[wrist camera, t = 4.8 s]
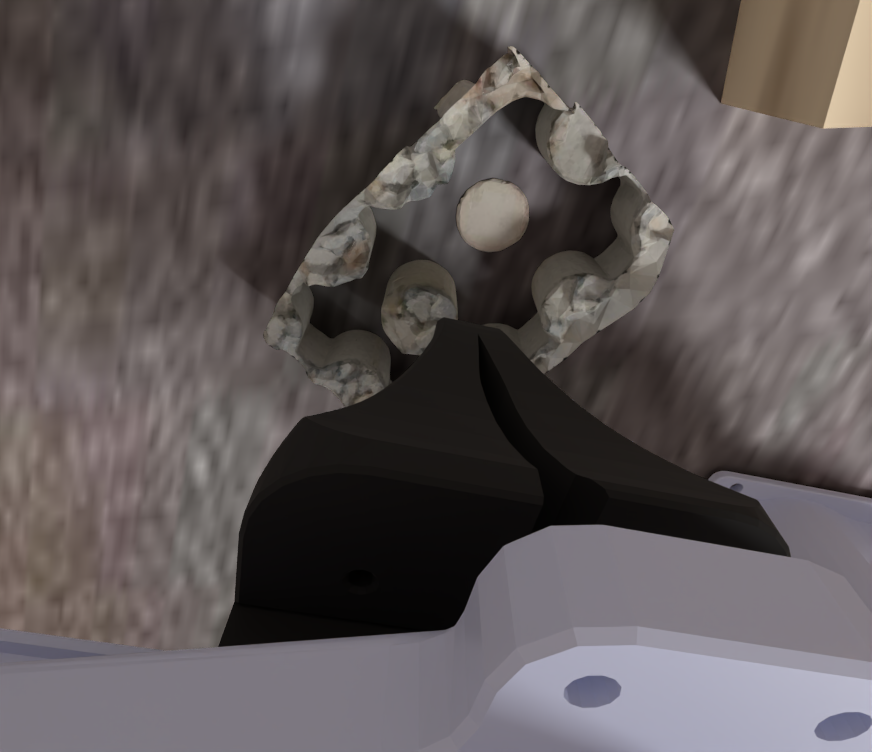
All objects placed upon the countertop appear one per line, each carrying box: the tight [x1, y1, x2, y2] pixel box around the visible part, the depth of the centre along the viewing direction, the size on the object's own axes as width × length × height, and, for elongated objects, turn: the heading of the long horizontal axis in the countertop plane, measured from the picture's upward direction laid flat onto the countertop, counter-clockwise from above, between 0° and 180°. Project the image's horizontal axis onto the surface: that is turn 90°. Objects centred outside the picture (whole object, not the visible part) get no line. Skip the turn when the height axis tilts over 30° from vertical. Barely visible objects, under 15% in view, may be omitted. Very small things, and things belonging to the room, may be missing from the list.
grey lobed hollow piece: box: [263, 46, 674, 407], centre depth 17 cm, size 11×8×4 cm
